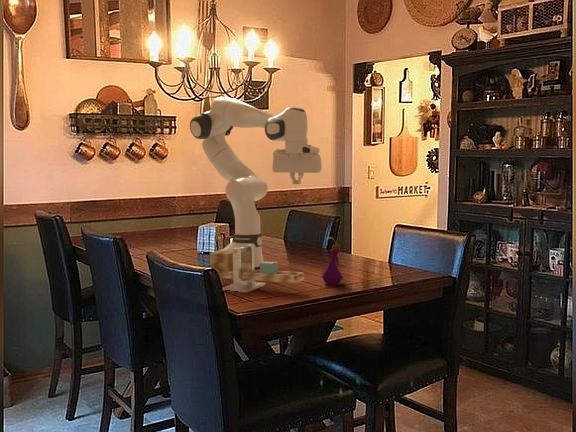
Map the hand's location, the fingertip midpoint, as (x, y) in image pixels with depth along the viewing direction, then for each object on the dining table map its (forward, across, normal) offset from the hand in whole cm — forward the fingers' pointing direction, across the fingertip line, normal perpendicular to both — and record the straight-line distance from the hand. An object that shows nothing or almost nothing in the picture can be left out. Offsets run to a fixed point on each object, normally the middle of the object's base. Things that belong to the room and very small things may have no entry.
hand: (296, 184), depth 259 cm
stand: (+37, -9, -26) cm, 46 cm away
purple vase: (+37, +18, -7) cm, 42 cm away
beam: (+33, -4, -26) cm, 42 cm away
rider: (+32, +2, -26) cm, 41 cm away
